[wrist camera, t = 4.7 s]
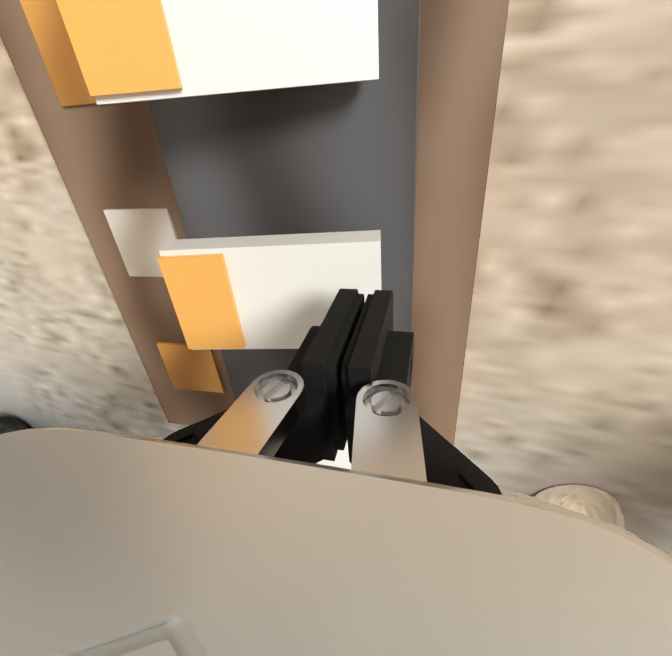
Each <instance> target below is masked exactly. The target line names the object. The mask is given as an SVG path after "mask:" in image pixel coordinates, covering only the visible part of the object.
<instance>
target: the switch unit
mask: <svg viewBox="0 0 672 656" xmlns="http://www.w3.org/2000/svg"><path fill="white" fill-rule="evenodd" d="M508 5H509V0H378V49H379V79H376V80H369V81H358V82H347V83H336V84H325V85H314V86H303V87H292V88H281V89H271V90H260V91H249V92H238V93H227V94H216V95H205V96H194V97H183V98H172V99H161V100H150V101H139V102H128V103H117V104H100V105H97V103H96V100H95V97H94V96H90V93H89V91H88V88H87V85H86V82H85V79H84V77H83V74H82V71H81V68H80V66H79V63H78V60H77V57H76V54H75V52H74V49H73V46H72V43H71V41H70V38H69V35H68V32H67V29H66V27H65V24H64V21H63V18H62V16H61V13H60V10H59V7H58V4H57V2H56V0H0V36H1V39H2V41H3V43H4V46H5V48H6V50H7V52H8V55H9V57H10V59H11V62H12V64H13V66H14V69H15V71H16V73H17V75H18V78H19V80H20V82H21V85H22V87H23V89H24V91H25V94H26V96H27V98H28V101H29V103H30V105H31V108H32V110H33V112H34V114H35V117H36V119H37V121H38V124H39V126H40V128H41V130H42V133H43V135H44V137H45V140H46V142H47V144H48V147H49V149H50V151H51V153H52V156H53V158H54V160H55V163H56V165H57V167H58V170H59V172H60V174H61V176H62V179H63V181H64V183H65V186H66V188H67V190H68V192H69V195H70V197H71V199H72V202H73V204H74V206H75V209H76V211H77V213H78V215H79V218H80V220H81V222H82V225H83V227H84V229H85V232H86V234H87V236H88V238H89V241H90V243H91V245H92V248H93V250H94V252H95V254H96V257H97V259H98V261H99V264H100V266H101V268H102V271H103V273H104V275H105V277H106V280H107V282H108V284H109V287H110V289H111V291H112V293H113V296H114V298H115V300H116V303H117V305H118V307H119V310H120V312H121V314H122V316H123V319H124V321H125V323H126V326H127V328H128V330H129V333H130V335H131V337H132V339H133V342H134V344H135V346H136V349H137V351H138V353H139V355H140V358H141V360H142V362H143V365H144V367H145V369H146V372H147V374H148V376H149V378H150V381H151V383H152V385H153V388H154V390H155V392H156V395H157V397H158V399H159V401H160V404H161V406H162V408H163V411H164V413H165V415H166V417H167V420H168V422H169V423H177V424H186V425H192V424H195V423H197V422H199V421H202V420H204V419H206V418H209V417H211V416H213V415H216V414H218V413H220V412H223V411H225V410H227V409H229V408H230V407H231V405H232V404H233V403H234V402H235V401H236V400H237V399H238V398H239V396H240V395H241V394H242V393H243V392H244V391H245V390H246V389H247V387H248V386H249V385H250V384H251V383H252V382H253V381H254V380H255V379H256V378H257V377H259V376H261V375H263V374H264V373H267V372H270V371H273V370H287V369H288V367H289V365H290V364H291V362H292V360H293V358H294V356H295V355H296V353H297V351H298V349H208V350H192V349H188V346H187V343H186V340H185V337H184V335H183V332H182V329H181V326H180V323H179V320H178V317H177V314H176V312H175V309H174V306H173V303H172V300H171V297H170V294H169V291H168V289H167V286H166V283H165V280H164V277H163V274H162V271H161V268H160V266H159V263H158V260H157V258H158V257H160V253H159V250H160V249H162V248H163V247H164V246H166V245H167V244H168V243H170V242H171V241H172V240H176V239H197V238H218V237H240V236H261V235H283V234H304V233H325V232H347V231H368V230H381V288H382V290H392V291H393V331H403V332H414V355H413V370H412V381H411V389H412V390H413V392H414V393H415V395H416V398H417V404H418V412H419V416H420V417H421V418H422V419H423V420H424V421H426V422H427V423H428V424H429V425H430V426H431V427H432V428H434V429H435V430H436V431H437V432H438V433H439V434H440V435H442V436H443V437H444V438H445V439H446V440H447V441H448V442H450V443H451V444H452V445H453V446H454V438H455V430H456V422H457V414H458V406H459V398H460V390H461V382H462V374H463V366H464V358H465V350H466V342H467V334H468V326H469V318H470V310H471V302H472V294H473V286H474V278H475V270H476V262H477V254H478V246H479V238H480V230H481V222H482V214H483V206H484V198H485V190H486V182H487V174H488V166H489V158H490V150H491V142H492V134H493V126H494V118H495V110H496V102H497V94H498V86H499V78H500V70H501V61H502V53H503V45H504V37H505V29H506V21H507V13H508Z"/></svg>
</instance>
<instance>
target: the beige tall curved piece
mask: <svg viewBox="0 0 672 656" xmlns="http://www.w3.org/2000/svg"><path fill="white" fill-rule="evenodd" d="M534 497H535V498H538V499H540V500H543V501H546V502H549V503H552V504H555V505H558V506H561V507H564V508H566V509H569V510H572V511H575V512H578V513H581V514H584V515H587V516H590V517H592V518H595V519H598V520H601V521H604V522H607V523H610V524H613V525H616V526H619V527H621V528H623V529H625V530H626V527H625V522H624V518H623V514H622V510H621V507H620V505H619V504H618V502H617V501H616V500H615V498H614V497H612V496H611V495H610V494H608V493H606V492H604V491H602V490H600V489H597V488H594V487H590V486H585V485H574V484H570V485H559V486H554V487H550V488H547V489H545V490H543V491H541V492H539V493H537V494H536V495H535V496H534Z"/></svg>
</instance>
